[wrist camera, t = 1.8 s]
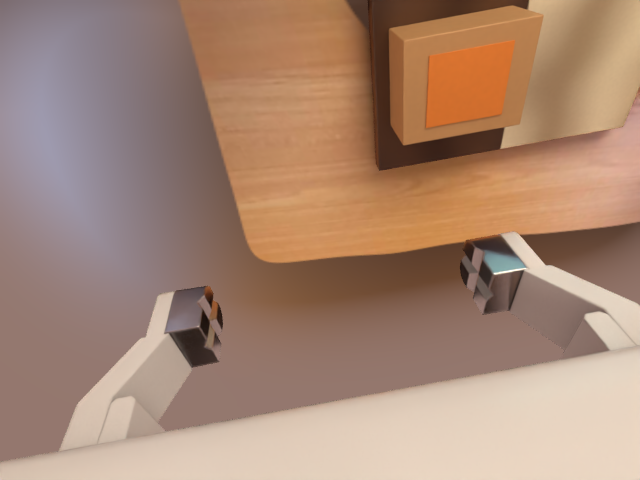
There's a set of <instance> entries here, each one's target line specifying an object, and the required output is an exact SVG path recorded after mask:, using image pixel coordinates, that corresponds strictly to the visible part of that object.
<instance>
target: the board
mask: <svg viewBox="0 0 640 480" xmlns="http://www.w3.org/2000/svg"><path fill="white" fill-rule="evenodd" d="M512 5H513V6H516V7H520V8H523V9H526V10H530V11H533V12H536V13H540V14H543V15H544V17H543V22H542V26H541V31H540V35H539V40H538V44H537V49H536V53H535V58H534V63H533V67H532V72H531V76H530V81H529V85H528V90H527V94H526V99H525V103H524V108H523V112H522V117H521V122H520V124H519V125H514V126H509V127H503V128H498V129H492V130H487V131H481V132H476V133H470V134H465V135H459V136H454V137H448V138H442V139H437V140H431V141H426V142H420V143H415V144H409V145H403V144H402V143H401V141H400V139H399V138H398V136H397V135H396V133H395V131H394V130H393V128H392V126H391V122H390V71H389V29H390V28H394V27H399V26H404V25H410V24H415V23H421V22H426V21H431V20H437V19H442V18H447V17H453V16H458V15H464V14H469V13H474V12H480V11H485V10H490V9H496V8H501V7H506V6H512ZM368 11H369V12H368V13H369V33H370V53H371V73H372V93H373V113H374V133H375V153H376V165H377V167H378V169H379V171H381V170H387V169H392V168H398V167H403V166H409V165H414V164H420V163H425V162H431V161H437V160H442V159H448V158H453V157H459V156H464V155H470V154H475V153H481V152H487V151H492V150H498V149H504V148H509V147H515V146H520V145H526V144H531V143H537V142H543V141H548V140H554V139H559V138H565V137H570V136H576V135H581V134H587V133H593V132H598V131H604V130H609V129H615V128H620V127H623V126H624V123H625V121H626V118H627V116H628V114H629V111H630V109H631V106H632V104H633V101H634V99H635V97H636V94H637V92H638V89H639V87H640V0H368Z"/></svg>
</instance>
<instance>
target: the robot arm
mask: <svg viewBox="0 0 640 480" xmlns="http://www.w3.org/2000/svg"><path fill="white" fill-rule="evenodd" d="M463 251H464V252H465V254H466V255H465V256H464V257H463V258H462V260H461V264H460V270H461V276H462V279H463V282H464V284H465V285H466V287H467V288H468V289H470V290H472V291H473V292H474V297H473V299H474V301H475V303H476V304H477V306H478V308H479V309H480V311H481V313H482V314H483V315H484V314H490V313H497V312H504V311H510V313H512V314H513V315H515V316H516V317H518V318H519V319H520V320H522V321H523V322H525V323H526V324H528V325H529V326H530V327H532V328H533V329H535V330H536V331H538V332H539V333H541V334H542V335H543V336H545V337H546V338H548V339H549V340H551V341H552V342H554V343H555V344H556V345H558V346H559V347H561V348H562V349H564V352H563V354H562V356H561V358H560V359H559V360H555V361H550V362H545V363H539V364H533V365H528V366H522V367H517V368H511V369H506V370H501V371H495V372H490V373H484V374H479V375H473V376H468V377H462V378H457V379H452V380H446V381H441V382H435V383H430V384H424V385H419V386H413V387H407V388H402V389H397V390H391V391H386V392H380V393H375V394H369V395H364V396H359V397H353V398H348V399H342V400H336V401H331V402H326V403H320V404H315V405H309V406H304V407H298V408H293V409H287V410H282V411H276V412H271V413H265V414H260V415H254V416H249V417H244V418H238V419H232V420H227V421H221V422H216V423H211V424H205V425H199V426H194V427H188V428H183V429H178V430H172V431H167V432H166V431H165V430H164V429H163V427H162V426H161V425H160V424H159V423H158V421H159V420H160V418H161V417H162V415H163V414H164V412H165V410H166V409H167V407H168V406H169V404H170V403H171V401H172V400H173V398H174V397H175V395H176V394H177V392H178V390H179V389H180V387H181V386H182V384H183V383H184V381H185V380H186V378H187V377H188V375H189V374H190V372H191V370H192V368H193V367H197V366H203V365H207V364H212V363H217V362H219V359H220V348H221V343H220V340H219V339H218V336H219V334H220V333H221V332H222V327H223V322H222V321H223V320H222V313H221V310H220V307H219V304H218V303H217V302H215V301H213V292H212V290H211V288H210V287H209V286H204V287H197V288H191V289H184V290H178V291H174V292H167V293H160V294H159V296H158V297H157V299H156V302H155V306H154V309H153V313H152V316H151V320H150V323H149V327H148V330H147V334H146V337H145V338H140V339H139V340H138V342H137V343H136V344H135V345H134V346H133V347H132V348H131V349H130V350H129V351H128V352H127V353H126V354H125V355H124V356H123V357H122V358H121V359H120V360H119V361H118V362H117V363H116V364H115V365H114V367H112V369H111V370H110V371H109V372H108V373H107V374H106V375H105V376H104V377H103V378H102V379H101V380H100V381H99V382H98V383H97V384H96V385H95V386H94V387H93V388H92V389H91V391H89V392H88V393H87V394H86V395H85V397H84V398H83V399H82V400H81V401H80V402H79V403H78V404H77V406H76V408H75V411H74V414H73V416H72V419H71V421H70V424H69V426H68V429H67V431H66V434H65V436H64V439H63V442H62V444H61V447H60V449H59V451H57V452H51V453H46V454H40V455H35V456H29V457H24V458H18V459H13V460H7V461H2V462H0V480H640V306H639V305H638V304H637V303H635V302H633V301H630V300H628V299H626V298H624V297H621V296H619V295H617V294H615V293H612V292H610V291H608V290H606V289H603V288H601V287H599V286H597V285H594V284H592V283H590V282H588V281H585V280H583V279H581V278H578V277H576V276H574V275H572V274H570V273H567V272H565V271H563V270H560V269H558V268H556V267H553V266H551V265H550V266H546V265H545V264H544V263H543V262H542V261H541V259H540V258H539V257H538V256H537V255H536V254H535V253H534V251H533V250H532V249H531V248H530V247H529V246H528V245H527V244H526V242H525V241H524V240H523V239H522V238H521V236H520V235H519V234H518V233H516V232H514V231H513V232H507V233H502V234H498V235H491V236H486V237H481V238H475V239H470V240H466V241H465V243H464V247H463Z"/></svg>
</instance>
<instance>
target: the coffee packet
mask: <svg viewBox="0 0 640 480" xmlns="http://www.w3.org/2000/svg"><path fill="white" fill-rule="evenodd" d="M543 17H544V15H543V14H540V13H536V12H533V11H530V10H526V9H523V8H520V7H516V6H513V5H512V6H506V7H501V8H496V9H490V10H485V11H480V12H474V13H469V14H464V15H458V16H453V17H447V18H442V19H437V20H431V21H426V22H421V23H415V24H410V25H404V26H399V27H394V28H390V29H389V71H390V122H391V126H392V128H393V130H394V131H395V133H396V135H397V136H398V138H399V139H400V141H401V143H402V144H403V145H409V144H415V143H420V142H426V141H431V140H437V139H442V138H448V137H454V136H459V135H465V134H470V133H476V132H481V131H487V130H492V129H498V128H503V127H509V126H514V125H519V124H520V122H521V117H522V112H523V108H524V103H525V99H526V94H527V90H528V85H529V81H530V76H531V72H532V67H533V63H534V58H535V53H536V49H537V44H538V40H539V35H540V31H541V26H542V22H543Z"/></svg>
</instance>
